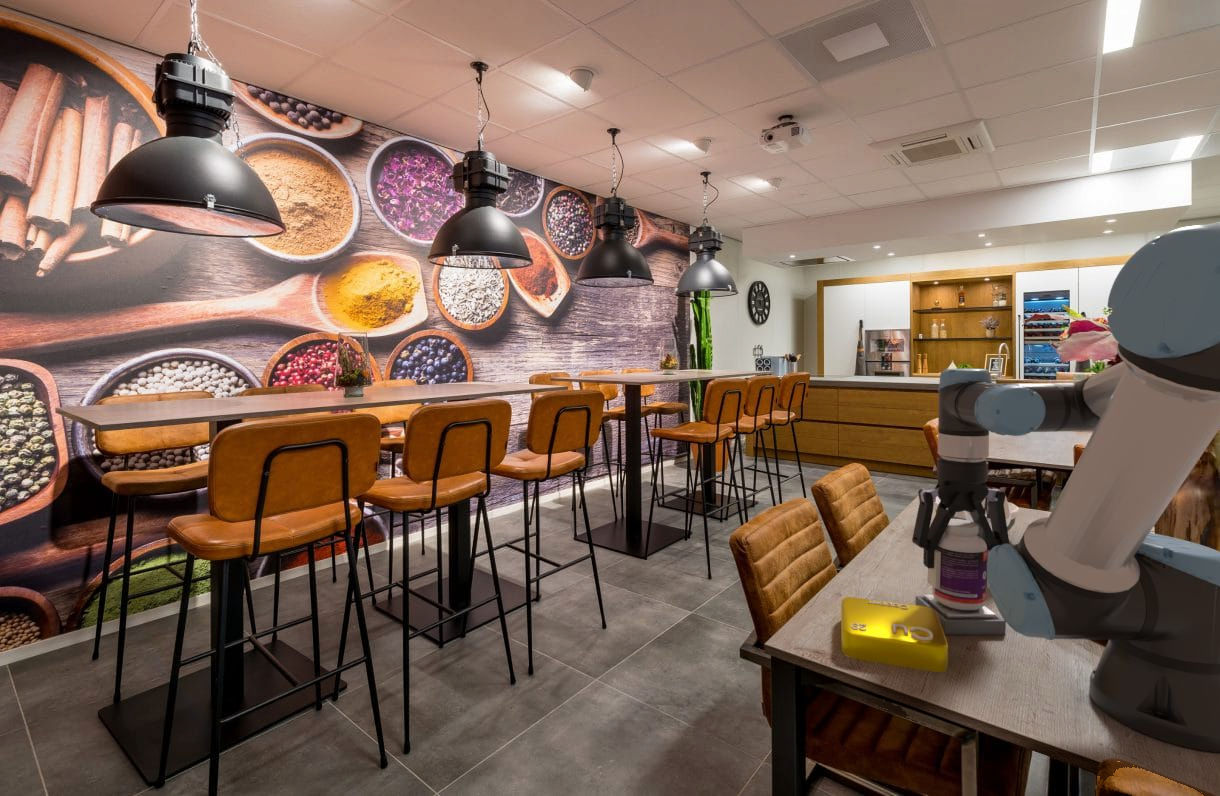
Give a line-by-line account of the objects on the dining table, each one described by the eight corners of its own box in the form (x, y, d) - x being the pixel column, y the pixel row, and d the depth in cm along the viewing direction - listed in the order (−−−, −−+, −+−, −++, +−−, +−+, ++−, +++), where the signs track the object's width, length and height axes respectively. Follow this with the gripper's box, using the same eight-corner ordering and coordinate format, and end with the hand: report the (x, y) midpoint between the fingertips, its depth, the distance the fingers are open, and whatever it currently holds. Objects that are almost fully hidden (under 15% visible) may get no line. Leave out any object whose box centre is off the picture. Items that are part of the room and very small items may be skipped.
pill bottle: (993, 614, 97) (996, 531, 95) (941, 611, 98) (943, 529, 97) (973, 594, 105) (976, 517, 103) (925, 591, 106) (927, 515, 105)
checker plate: (995, 625, 97) (996, 613, 97) (947, 625, 98) (947, 613, 97) (968, 604, 105) (968, 593, 105) (923, 605, 106) (924, 593, 105)
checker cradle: (1005, 634, 96) (1005, 618, 96) (944, 635, 97) (945, 618, 97) (970, 608, 106) (970, 593, 106) (915, 608, 107) (915, 593, 106)
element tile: (934, 630, 99) (935, 604, 99) (949, 677, 85) (950, 646, 85) (841, 617, 105) (841, 592, 104) (841, 659, 91) (841, 630, 91)
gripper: (1009, 452, 102) (1005, 576, 104) (891, 454, 103) (889, 577, 105) (1039, 460, 95) (1034, 593, 97) (911, 463, 96) (908, 594, 98)
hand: (958, 584), depth 101 cm, fingers closed on pill bottle, 8 cm apart
